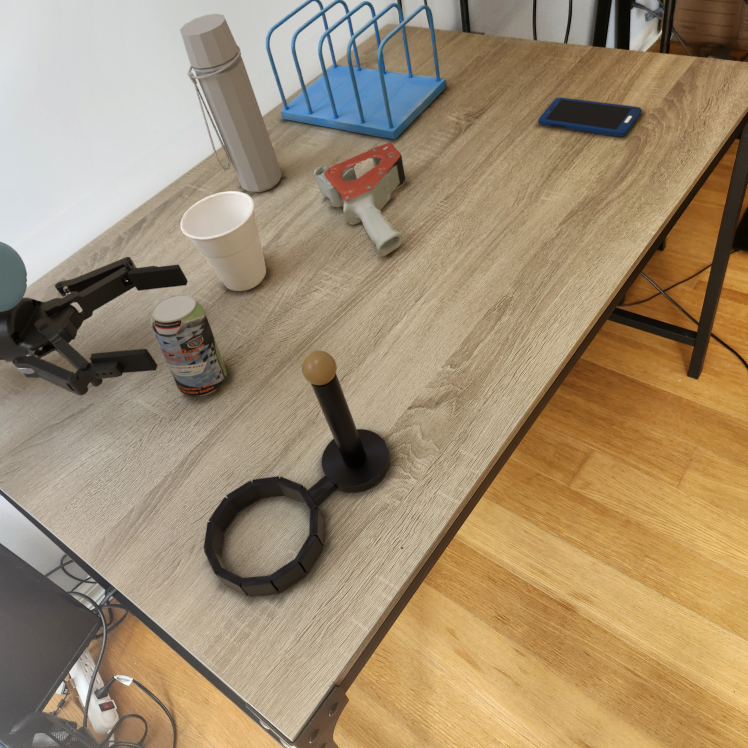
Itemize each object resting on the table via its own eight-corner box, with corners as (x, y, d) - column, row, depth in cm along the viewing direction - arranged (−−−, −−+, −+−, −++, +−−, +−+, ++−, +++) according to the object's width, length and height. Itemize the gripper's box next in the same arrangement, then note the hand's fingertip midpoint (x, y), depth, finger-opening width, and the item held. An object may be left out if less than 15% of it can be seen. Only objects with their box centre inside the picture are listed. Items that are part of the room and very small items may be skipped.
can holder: (192, 568, 63) (105, 479, 51) (299, 412, 73) (249, 305, 61) (301, 624, 58) (234, 539, 45) (401, 446, 68) (369, 337, 55)
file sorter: (282, 120, 119) (254, 34, 107) (336, 74, 127) (316, -11, 115) (395, 141, 107) (378, 46, 95) (447, 88, 115) (437, -5, 103)
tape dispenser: (395, 270, 88) (445, 176, 98) (389, 241, 84) (442, 146, 94) (285, 249, 95) (343, 163, 104) (274, 221, 90) (335, 134, 100)
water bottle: (271, 163, 110) (216, 7, 91) (292, 181, 105) (238, 20, 86) (223, 187, 108) (157, 33, 89) (242, 207, 103) (176, 48, 84)
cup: (256, 245, 96) (229, 181, 87) (293, 273, 90) (268, 208, 81) (200, 281, 93) (167, 219, 84) (234, 313, 87) (202, 249, 78)
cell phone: (624, 137, 95) (625, 133, 94) (536, 124, 102) (536, 120, 101) (643, 112, 98) (643, 107, 98) (556, 100, 105) (556, 96, 104)
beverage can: (173, 400, 78) (126, 333, 69) (199, 355, 83) (158, 286, 74) (218, 406, 76) (175, 337, 67) (243, 359, 81) (206, 288, 72)
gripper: (61, 284, 89) (205, 267, 85) (-21, 434, 73) (152, 422, 69) (28, 241, 83) (181, 220, 79) (-68, 393, 67) (117, 378, 63)
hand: (168, 314), depth 74 cm, fingers open, 13 cm apart
